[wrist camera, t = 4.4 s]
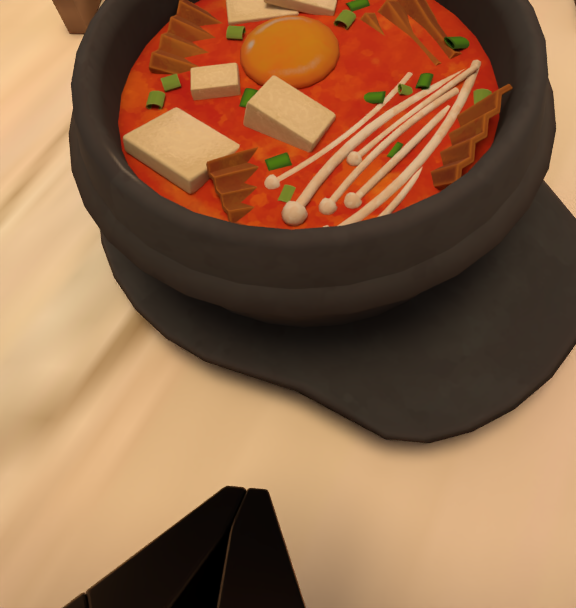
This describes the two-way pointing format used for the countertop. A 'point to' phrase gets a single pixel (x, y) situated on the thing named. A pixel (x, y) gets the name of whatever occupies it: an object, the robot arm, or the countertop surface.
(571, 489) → the countertop surface
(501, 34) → the casserole
